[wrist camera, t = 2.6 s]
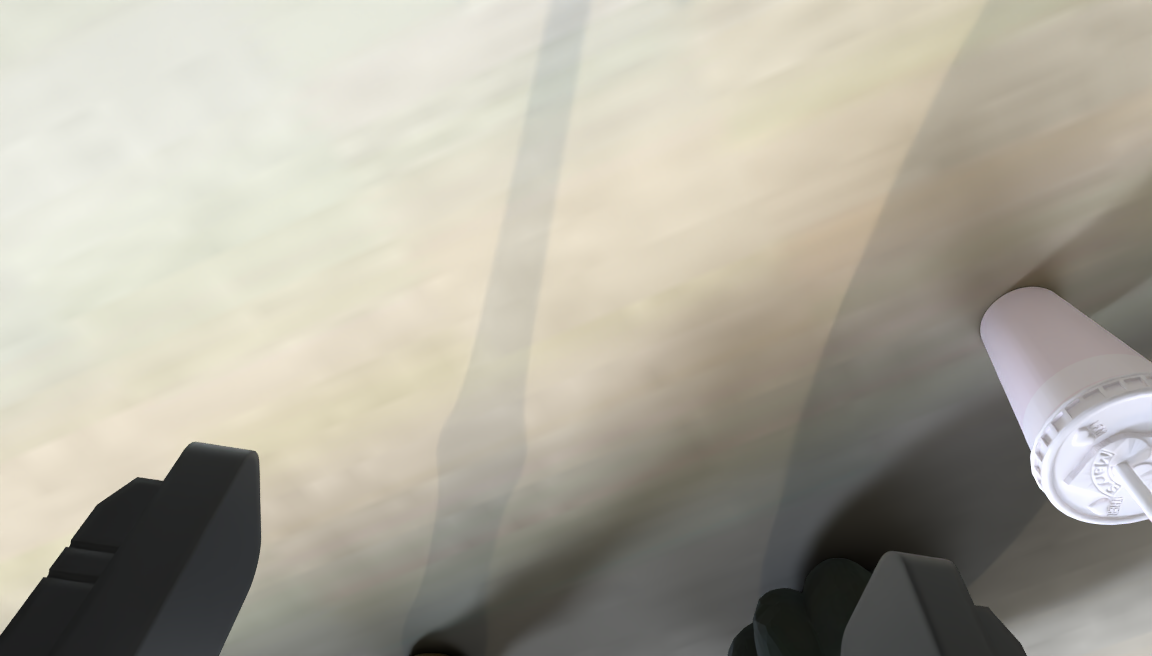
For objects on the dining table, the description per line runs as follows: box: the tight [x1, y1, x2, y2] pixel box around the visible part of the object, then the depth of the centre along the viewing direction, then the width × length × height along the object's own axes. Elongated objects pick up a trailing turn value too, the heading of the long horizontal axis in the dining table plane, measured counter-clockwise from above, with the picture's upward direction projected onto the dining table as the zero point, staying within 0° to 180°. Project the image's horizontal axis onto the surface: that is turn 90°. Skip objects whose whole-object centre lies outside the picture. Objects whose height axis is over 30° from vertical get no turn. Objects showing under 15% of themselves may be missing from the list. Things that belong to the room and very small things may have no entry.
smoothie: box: [980, 287, 1152, 525], centre depth 33 cm, size 6×6×14 cm
